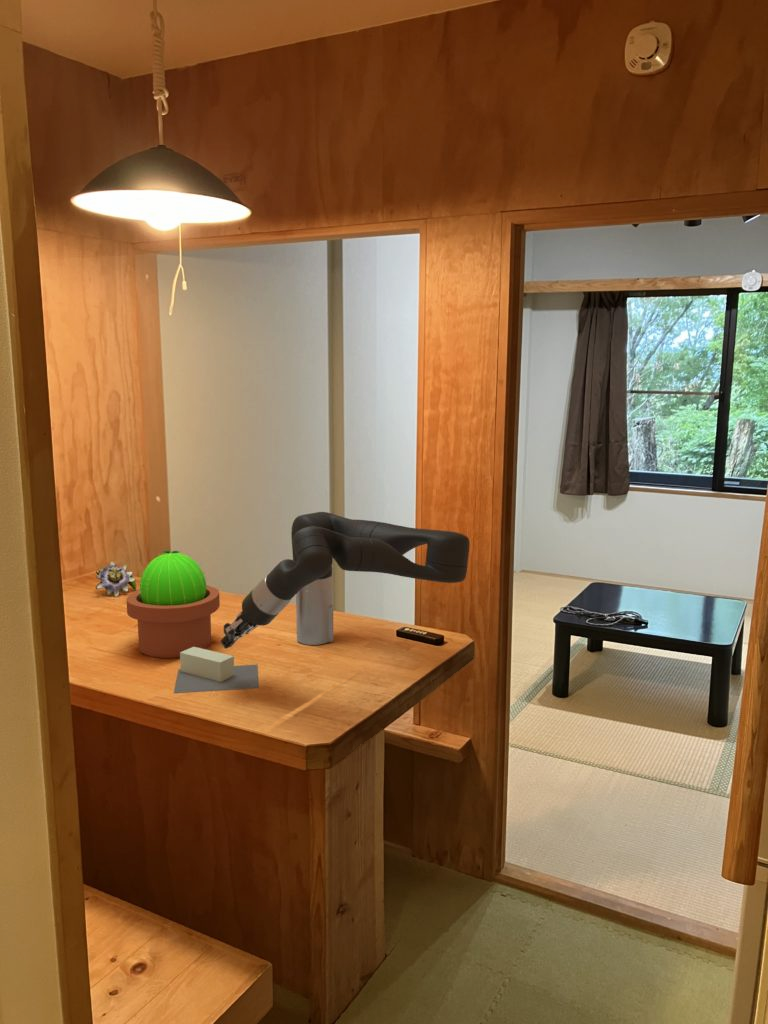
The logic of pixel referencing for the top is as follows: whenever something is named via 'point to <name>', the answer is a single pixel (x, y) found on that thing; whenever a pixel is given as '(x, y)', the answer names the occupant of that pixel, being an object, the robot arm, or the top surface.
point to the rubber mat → (241, 680)
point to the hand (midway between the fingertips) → (225, 644)
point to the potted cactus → (173, 606)
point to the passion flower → (115, 579)
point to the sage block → (207, 664)
